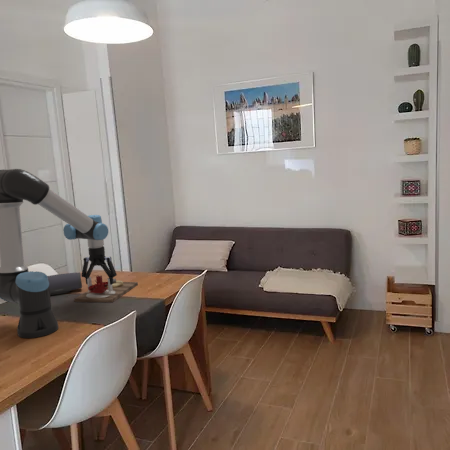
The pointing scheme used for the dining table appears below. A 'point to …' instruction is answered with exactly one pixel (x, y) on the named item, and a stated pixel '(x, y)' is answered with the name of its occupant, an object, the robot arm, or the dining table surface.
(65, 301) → the dining table surface
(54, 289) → the bluetooth speaker
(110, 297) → the gear board
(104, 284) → the red branched block
